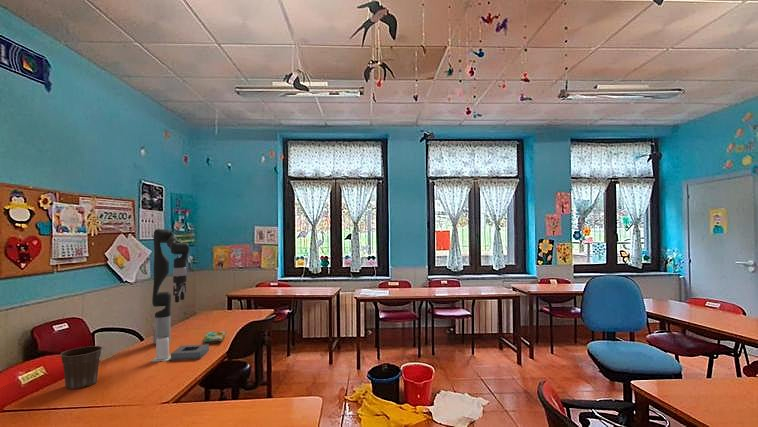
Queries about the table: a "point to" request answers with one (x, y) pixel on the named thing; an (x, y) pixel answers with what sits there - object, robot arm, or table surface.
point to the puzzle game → (214, 337)
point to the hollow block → (189, 352)
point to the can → (162, 347)
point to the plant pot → (81, 366)
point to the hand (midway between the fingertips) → (179, 301)
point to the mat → (161, 360)
